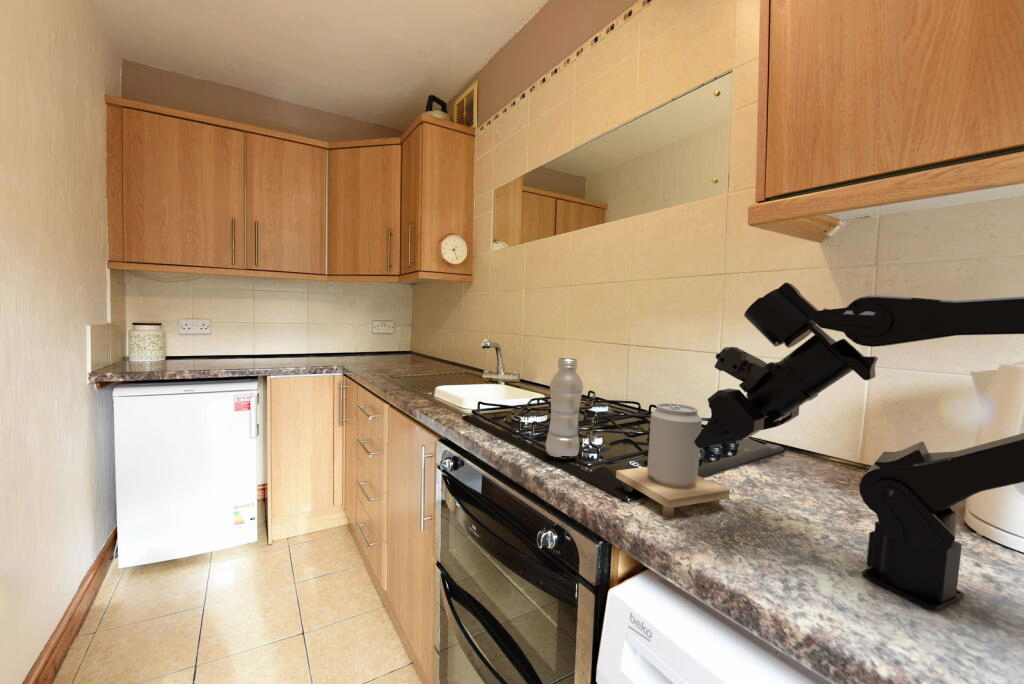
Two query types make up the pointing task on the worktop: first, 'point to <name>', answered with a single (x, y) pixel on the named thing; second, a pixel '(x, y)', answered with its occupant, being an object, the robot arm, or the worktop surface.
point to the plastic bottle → (564, 410)
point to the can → (674, 444)
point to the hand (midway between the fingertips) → (710, 439)
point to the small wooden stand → (673, 490)
